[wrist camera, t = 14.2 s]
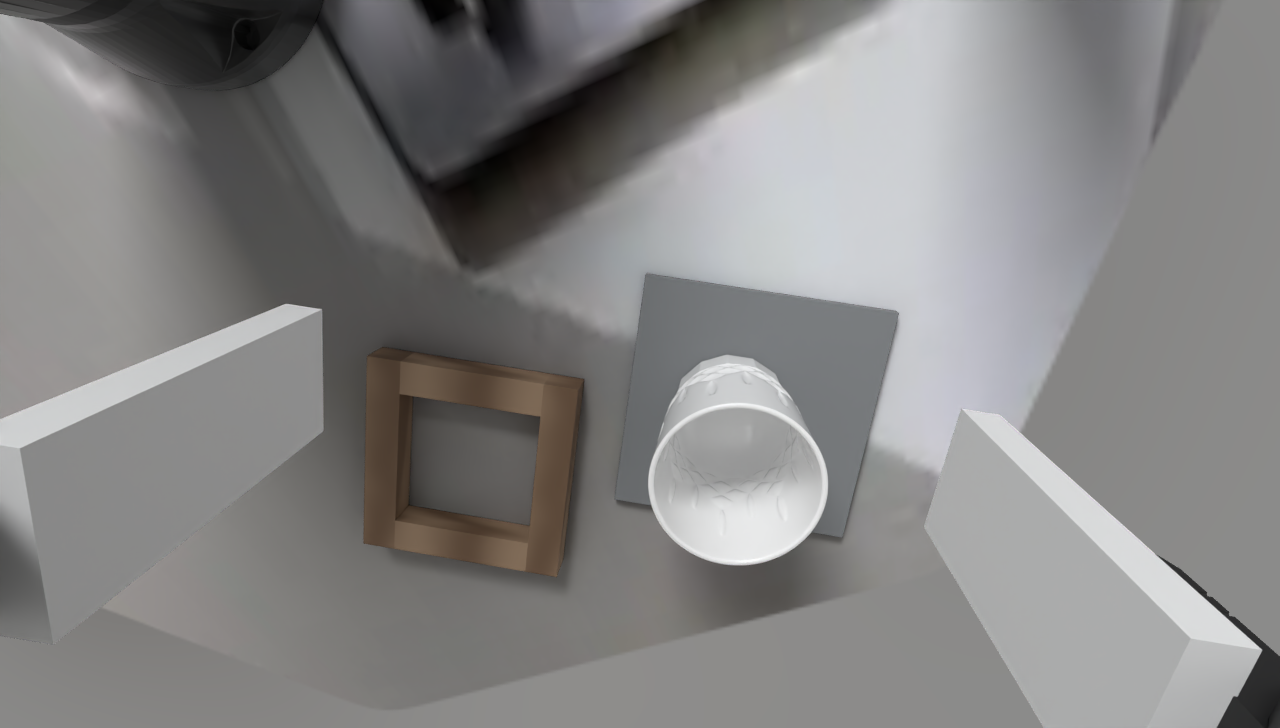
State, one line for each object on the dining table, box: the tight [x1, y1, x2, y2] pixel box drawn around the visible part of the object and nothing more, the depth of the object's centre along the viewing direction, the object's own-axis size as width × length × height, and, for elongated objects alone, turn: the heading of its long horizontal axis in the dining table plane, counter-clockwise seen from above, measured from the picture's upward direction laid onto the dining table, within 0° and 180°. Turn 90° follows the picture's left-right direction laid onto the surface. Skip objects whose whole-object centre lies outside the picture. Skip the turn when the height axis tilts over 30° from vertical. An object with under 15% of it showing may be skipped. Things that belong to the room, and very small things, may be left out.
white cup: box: [648, 355, 828, 566], centre depth 35 cm, size 8×8×10 cm
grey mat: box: [615, 273, 899, 537], centre depth 40 cm, size 14×14×1 cm
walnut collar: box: [364, 347, 584, 577], centre depth 42 cm, size 12×12×2 cm
